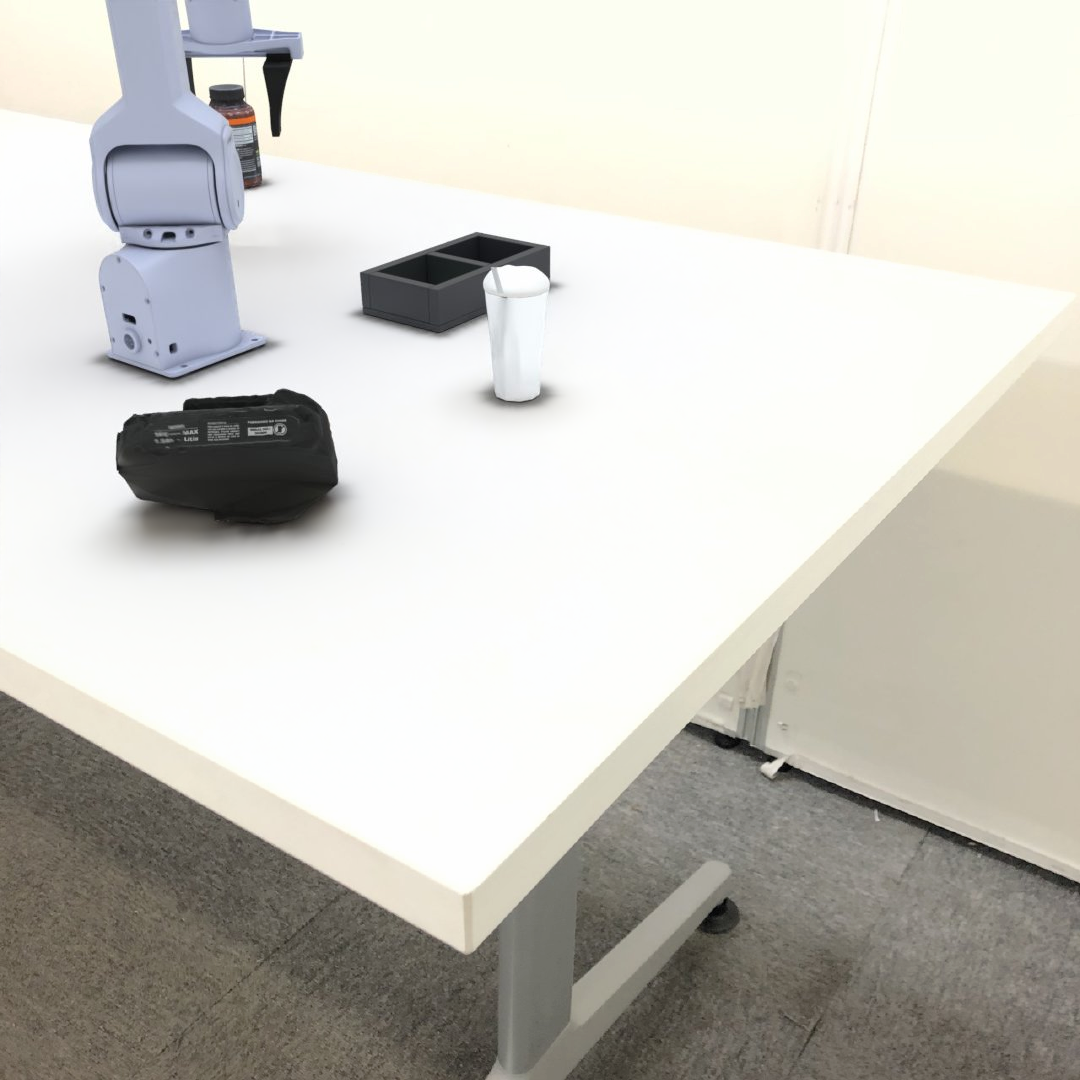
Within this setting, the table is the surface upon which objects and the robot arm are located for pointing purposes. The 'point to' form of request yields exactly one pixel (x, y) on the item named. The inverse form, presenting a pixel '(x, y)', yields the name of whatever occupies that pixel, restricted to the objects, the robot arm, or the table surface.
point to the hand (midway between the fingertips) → (237, 133)
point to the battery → (232, 456)
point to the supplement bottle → (240, 128)
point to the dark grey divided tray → (444, 280)
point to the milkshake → (516, 329)
